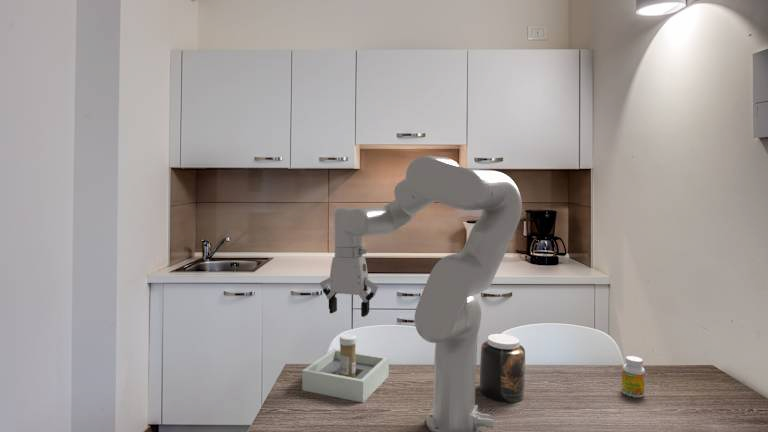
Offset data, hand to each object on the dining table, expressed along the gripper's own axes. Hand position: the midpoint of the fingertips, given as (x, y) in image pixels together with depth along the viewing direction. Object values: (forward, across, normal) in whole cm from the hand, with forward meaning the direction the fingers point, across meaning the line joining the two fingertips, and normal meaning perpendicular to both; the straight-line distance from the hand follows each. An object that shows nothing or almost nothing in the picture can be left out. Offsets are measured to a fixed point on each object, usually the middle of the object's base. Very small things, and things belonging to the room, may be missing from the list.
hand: (348, 313), depth 130 cm
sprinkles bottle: (+20, +1, 0) cm, 20 cm away
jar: (+21, -40, -11) cm, 47 cm away
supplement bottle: (+22, -73, -25) cm, 80 cm away
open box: (+20, +1, 0) cm, 20 cm away
